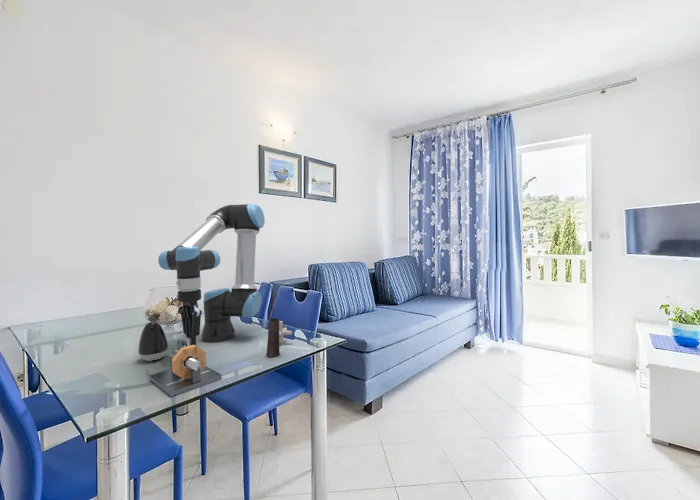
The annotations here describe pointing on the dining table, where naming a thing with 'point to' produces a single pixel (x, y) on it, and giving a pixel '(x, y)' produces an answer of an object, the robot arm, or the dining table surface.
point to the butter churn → (273, 335)
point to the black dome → (152, 342)
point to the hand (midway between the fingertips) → (192, 354)
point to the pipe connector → (283, 332)
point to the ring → (182, 355)
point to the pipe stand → (179, 385)
